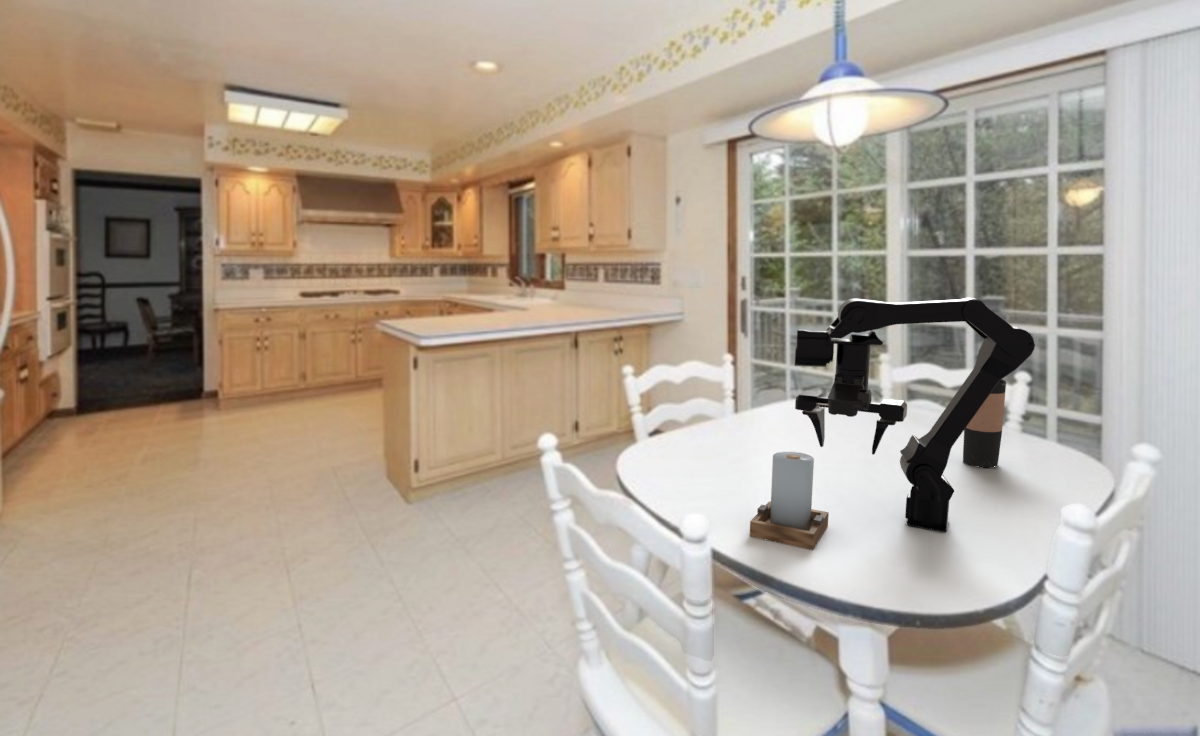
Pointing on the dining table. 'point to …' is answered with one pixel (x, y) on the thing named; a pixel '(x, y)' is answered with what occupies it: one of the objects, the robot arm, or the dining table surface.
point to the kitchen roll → (792, 490)
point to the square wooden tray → (788, 529)
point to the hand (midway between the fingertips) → (847, 450)
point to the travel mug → (986, 430)
